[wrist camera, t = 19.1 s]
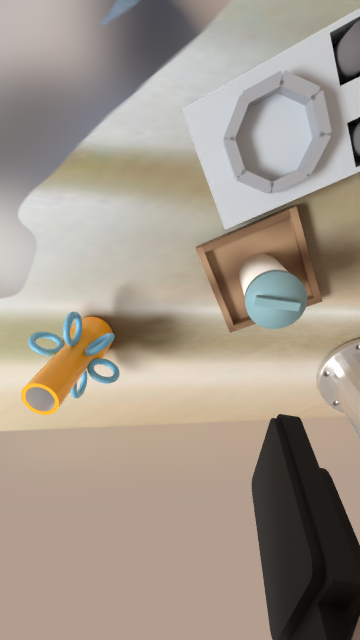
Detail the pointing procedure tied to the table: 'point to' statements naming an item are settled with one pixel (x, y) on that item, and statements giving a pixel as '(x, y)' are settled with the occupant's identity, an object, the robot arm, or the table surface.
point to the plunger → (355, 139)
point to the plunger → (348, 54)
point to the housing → (277, 128)
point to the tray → (258, 237)
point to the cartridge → (271, 292)
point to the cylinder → (69, 363)
